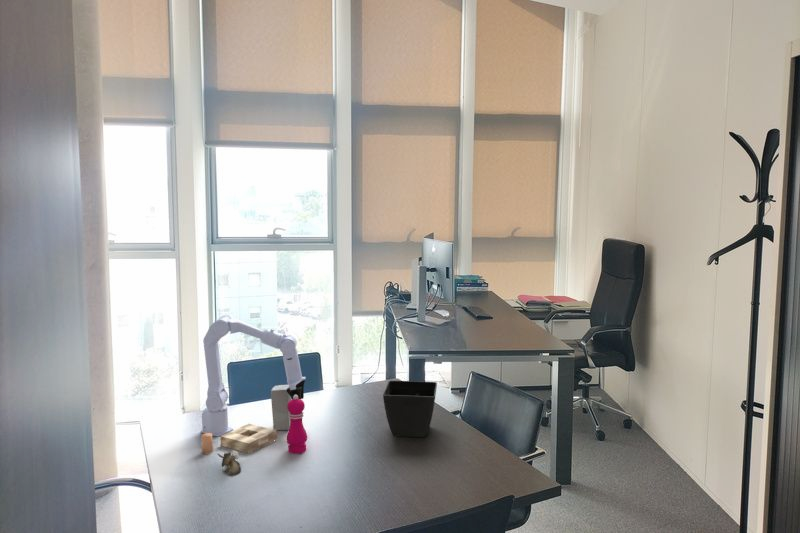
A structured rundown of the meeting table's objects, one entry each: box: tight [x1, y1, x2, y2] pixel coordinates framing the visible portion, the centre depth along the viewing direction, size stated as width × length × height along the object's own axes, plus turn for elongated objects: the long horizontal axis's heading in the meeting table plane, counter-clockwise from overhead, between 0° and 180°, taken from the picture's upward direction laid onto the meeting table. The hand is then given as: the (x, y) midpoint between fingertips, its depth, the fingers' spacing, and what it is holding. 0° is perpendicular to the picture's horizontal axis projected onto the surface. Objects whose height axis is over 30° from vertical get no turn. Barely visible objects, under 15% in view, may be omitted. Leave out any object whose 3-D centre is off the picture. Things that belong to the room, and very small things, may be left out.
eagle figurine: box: [217, 450, 242, 477], centre depth 194 cm, size 8×7×9 cm
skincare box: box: [270, 384, 292, 431], centre depth 232 cm, size 8×7×16 cm
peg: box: [201, 433, 214, 454], centre depth 209 cm, size 4×4×6 cm
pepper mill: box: [285, 395, 308, 455], centre depth 209 cm, size 7×7×20 cm
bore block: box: [219, 423, 278, 454], centre depth 217 cm, size 14×14×4 cm
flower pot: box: [382, 380, 438, 438], centre depth 225 cm, size 19×19×17 cm
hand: (299, 402), depth 229 cm, fingers open, 7 cm apart
